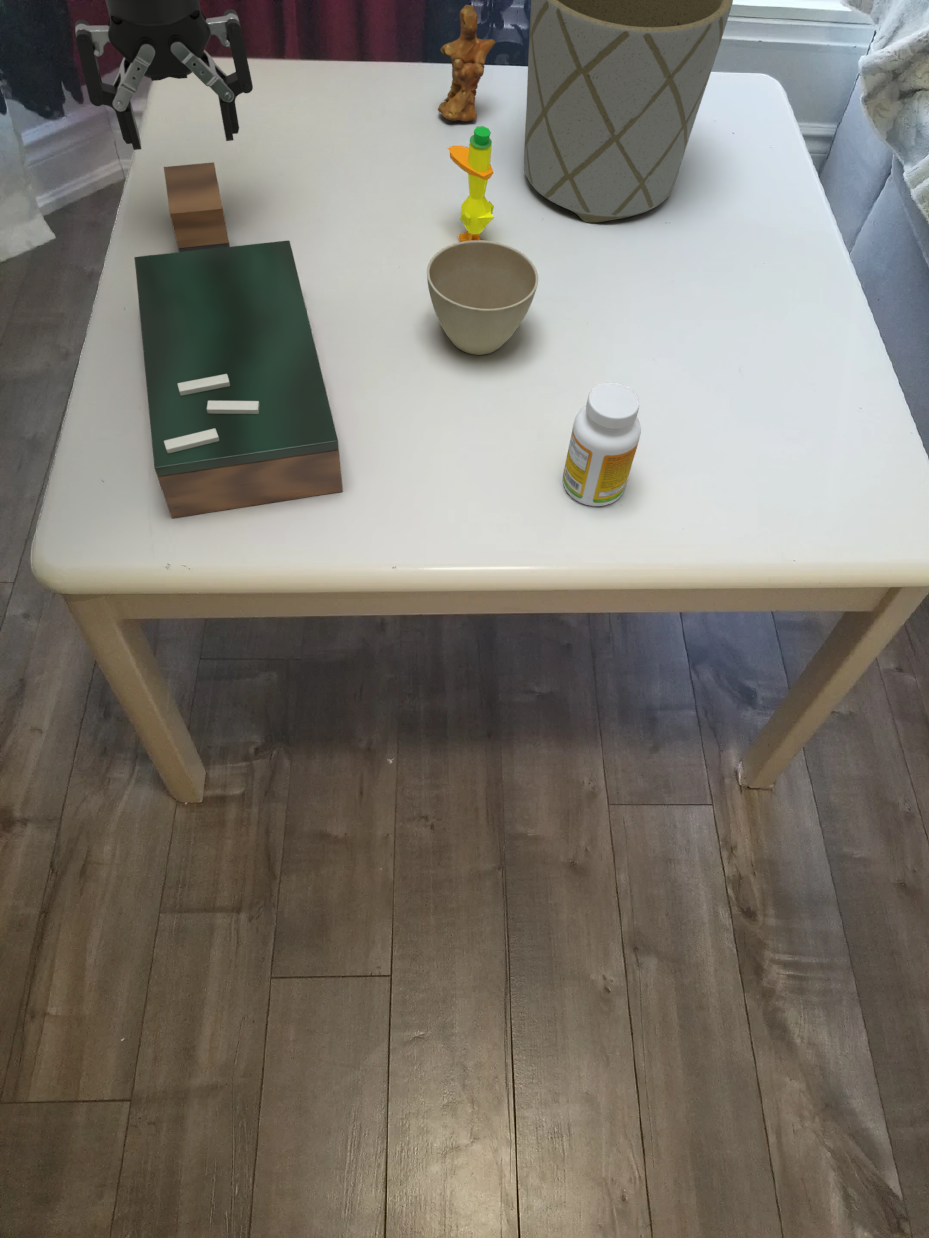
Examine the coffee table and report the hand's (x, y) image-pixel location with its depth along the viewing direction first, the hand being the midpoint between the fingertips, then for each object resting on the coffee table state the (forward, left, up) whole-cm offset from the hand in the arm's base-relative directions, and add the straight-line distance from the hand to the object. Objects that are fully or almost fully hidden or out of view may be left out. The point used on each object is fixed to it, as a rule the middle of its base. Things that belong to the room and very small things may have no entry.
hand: (183, 141), depth 86 cm
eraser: (0, 0, -10) cm, 10 cm away
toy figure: (+27, -6, -10) cm, 29 cm away
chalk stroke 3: (0, -33, -4) cm, 33 cm away
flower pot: (+24, -21, -10) cm, 33 cm away
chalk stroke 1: (-2, -30, -4) cm, 30 cm away
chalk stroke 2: (-3, -36, -4) cm, 36 cm away
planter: (+44, +2, -10) cm, 45 cm away
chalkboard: (+1, -25, -10) cm, 26 cm away
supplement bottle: (+29, -41, -10) cm, 51 cm away
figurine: (+32, +17, -10) cm, 37 cm away
